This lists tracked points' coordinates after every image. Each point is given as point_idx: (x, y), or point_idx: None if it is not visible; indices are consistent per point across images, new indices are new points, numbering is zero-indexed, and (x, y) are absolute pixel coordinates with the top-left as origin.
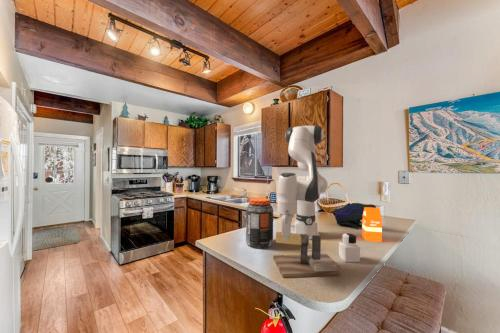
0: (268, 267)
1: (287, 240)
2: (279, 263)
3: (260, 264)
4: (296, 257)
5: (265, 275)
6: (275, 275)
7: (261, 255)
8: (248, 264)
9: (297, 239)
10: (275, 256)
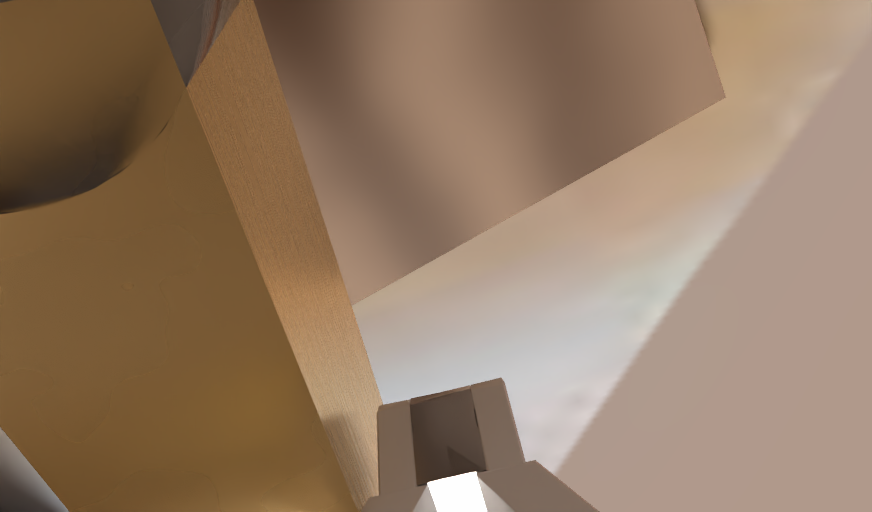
0: (505, 299)
1: (506, 391)
2: (440, 227)
3: None
4: None
5: (694, 259)
6: (667, 172)
7: None
8: None
9: (272, 175)
10: None
